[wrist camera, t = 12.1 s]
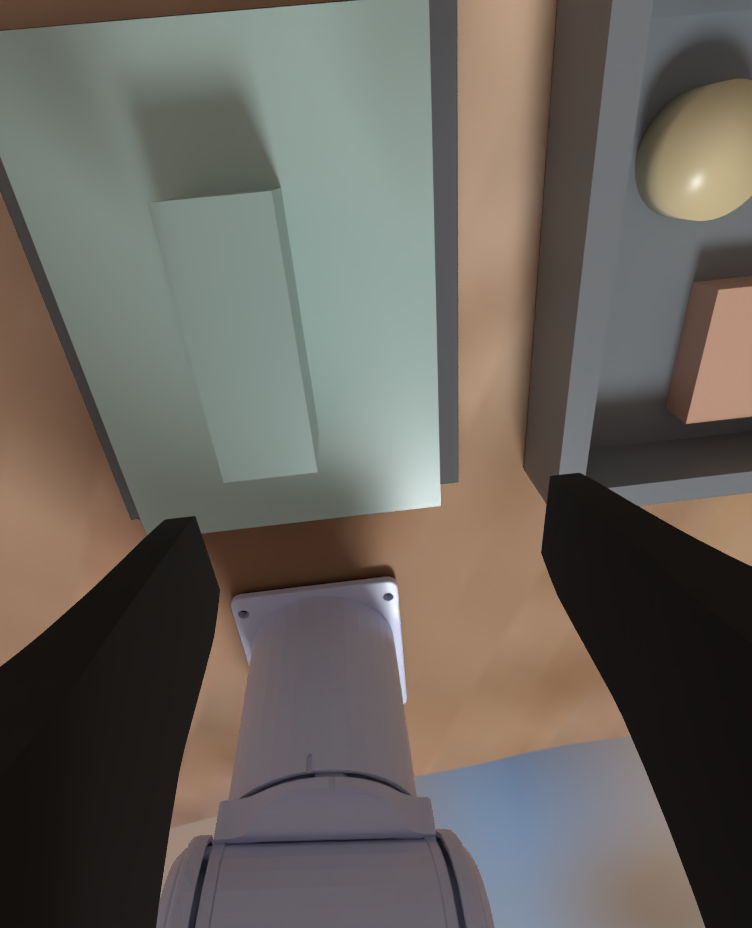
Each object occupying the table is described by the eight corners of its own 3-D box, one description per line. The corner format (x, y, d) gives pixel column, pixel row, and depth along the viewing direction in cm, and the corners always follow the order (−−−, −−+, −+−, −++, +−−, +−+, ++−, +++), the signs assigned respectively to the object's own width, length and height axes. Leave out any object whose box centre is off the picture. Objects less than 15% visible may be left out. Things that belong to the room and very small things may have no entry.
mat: (456, 477, 22) (458, 482, 22) (134, 514, 22) (131, 519, 22) (454, -5, 14) (457, -10, 14) (-52, 38, 14) (-62, 35, 14)
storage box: (788, 439, 23) (858, 479, 20) (523, 469, 23) (554, 516, 19) (964, -49, 15) (1127, -106, 12) (558, -14, 15) (619, -63, 11)
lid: (435, 490, 22) (456, 552, 19) (156, 522, 22) (122, 592, 18) (421, 7, 14) (453, -50, 11) (-19, 45, 14) (-142, 0, 10)
